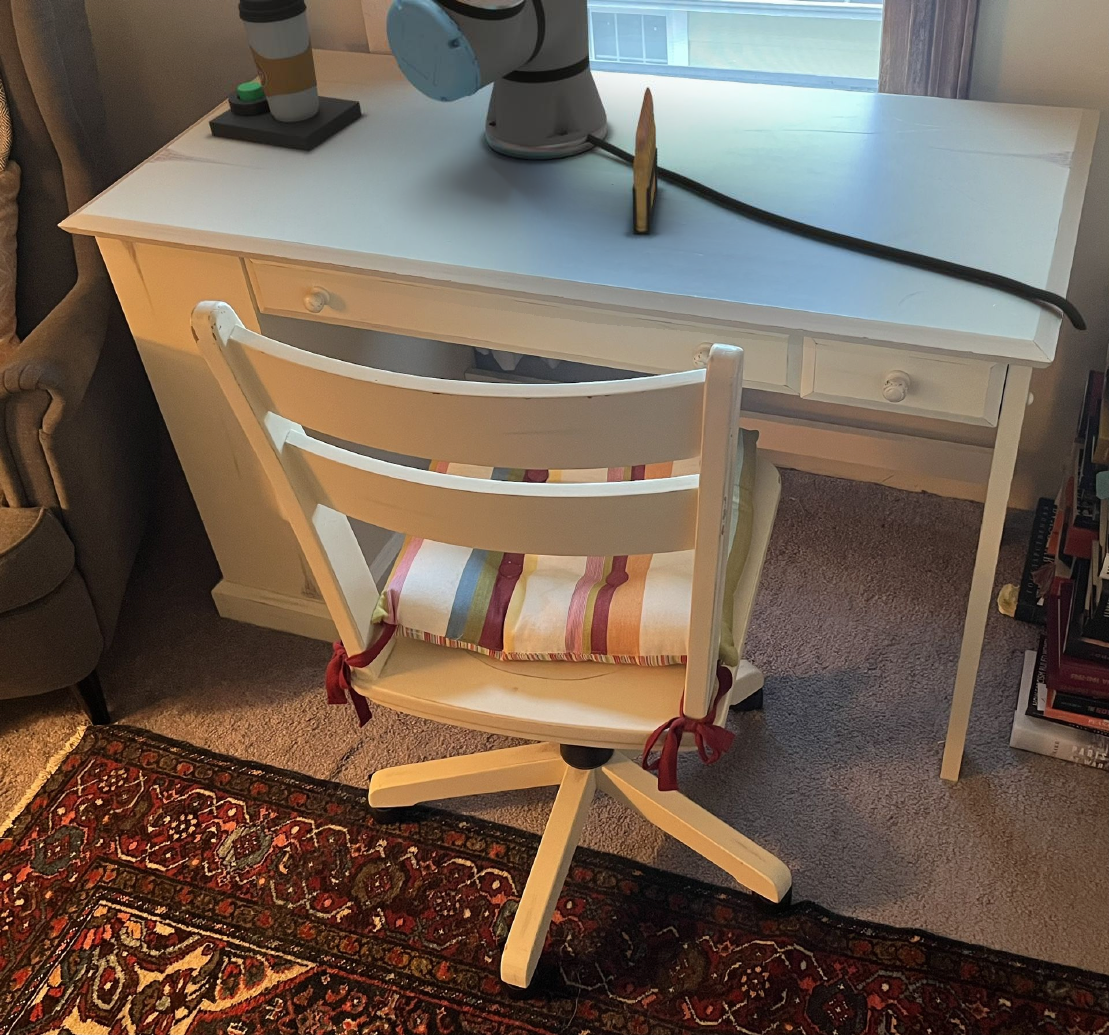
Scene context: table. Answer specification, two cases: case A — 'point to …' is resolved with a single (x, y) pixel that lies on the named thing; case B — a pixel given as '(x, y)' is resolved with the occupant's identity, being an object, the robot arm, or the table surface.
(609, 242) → the table surface
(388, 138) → the table surface
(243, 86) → the button
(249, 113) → the scale
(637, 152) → the ammunition clip
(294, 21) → the coffee cup
